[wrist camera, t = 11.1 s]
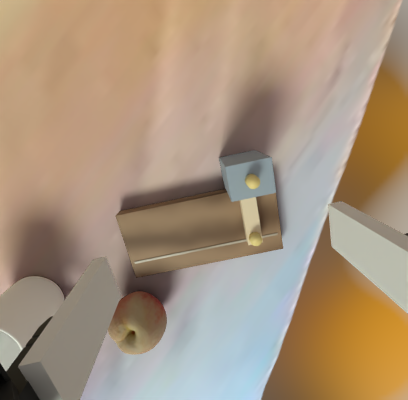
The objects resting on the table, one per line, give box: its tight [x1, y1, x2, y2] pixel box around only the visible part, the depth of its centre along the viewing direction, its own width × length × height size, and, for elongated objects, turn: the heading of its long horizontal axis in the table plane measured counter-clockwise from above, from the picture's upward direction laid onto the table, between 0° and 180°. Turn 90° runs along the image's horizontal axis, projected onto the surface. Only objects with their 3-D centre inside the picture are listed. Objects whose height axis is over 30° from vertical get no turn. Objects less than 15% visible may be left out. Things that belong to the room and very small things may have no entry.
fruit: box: [108, 291, 167, 354], centre depth 37 cm, size 8×8×8 cm
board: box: [116, 189, 283, 278], centre depth 36 cm, size 10×22×2 cm, turn 102°
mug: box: [0, 276, 64, 371], centre depth 35 cm, size 12×8×10 cm
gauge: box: [219, 150, 276, 246], centre depth 31 cm, size 12×5×9 cm, turn 12°
